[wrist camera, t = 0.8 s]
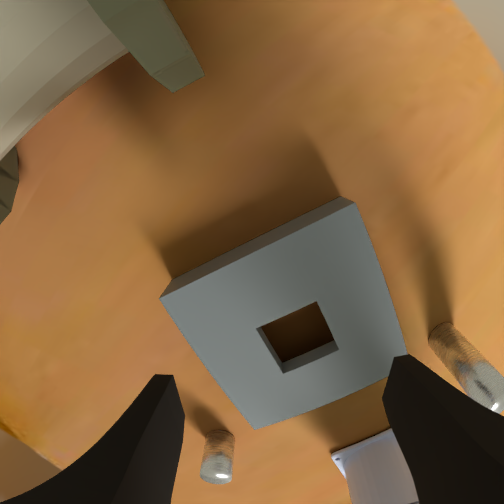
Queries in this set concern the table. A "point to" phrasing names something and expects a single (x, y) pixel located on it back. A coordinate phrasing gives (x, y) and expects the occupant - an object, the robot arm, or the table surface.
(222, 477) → the short pin
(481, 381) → the long pin
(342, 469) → the robot arm
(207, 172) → the table surface
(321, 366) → the board
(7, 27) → the spool
